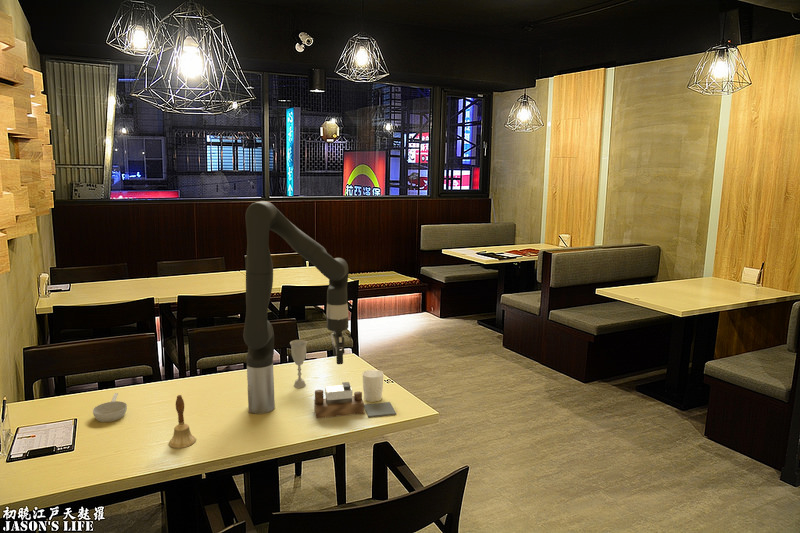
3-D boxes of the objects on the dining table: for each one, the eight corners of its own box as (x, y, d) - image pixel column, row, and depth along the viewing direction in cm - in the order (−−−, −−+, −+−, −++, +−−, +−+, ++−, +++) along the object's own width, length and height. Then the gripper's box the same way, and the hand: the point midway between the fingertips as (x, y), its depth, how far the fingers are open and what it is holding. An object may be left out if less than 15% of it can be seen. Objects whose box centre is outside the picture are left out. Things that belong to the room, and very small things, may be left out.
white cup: (382, 402, 217) (382, 377, 216) (361, 402, 218) (361, 377, 216) (383, 394, 225) (383, 369, 223) (363, 393, 225) (363, 369, 224)
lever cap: (327, 400, 205) (326, 389, 204) (325, 394, 210) (325, 383, 209) (352, 398, 207) (352, 386, 206) (350, 392, 212) (349, 381, 211)
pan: (90, 425, 198) (89, 414, 198) (101, 404, 215) (100, 394, 215) (124, 421, 201) (123, 411, 201) (132, 401, 218) (132, 391, 218)
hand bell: (200, 442, 187) (197, 395, 184) (175, 451, 181) (171, 403, 178) (189, 433, 193) (186, 388, 190) (164, 441, 187) (160, 395, 184)
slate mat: (368, 417, 205) (368, 415, 205) (363, 405, 214) (363, 404, 214) (396, 414, 207) (396, 413, 207) (390, 403, 217) (390, 401, 217)
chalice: (290, 383, 236) (288, 340, 232) (307, 381, 238) (305, 339, 234) (292, 389, 229) (291, 346, 226) (309, 387, 231) (308, 344, 228)
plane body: (316, 418, 204) (315, 395, 202) (314, 410, 211) (313, 387, 209) (364, 413, 208) (363, 391, 206) (360, 405, 215) (360, 383, 213)
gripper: (324, 311, 209) (325, 354, 212) (329, 321, 195) (330, 367, 198) (345, 309, 210) (345, 352, 213) (351, 320, 197) (351, 365, 200)
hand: (338, 359), depth 206 cm, fingers open, 8 cm apart
